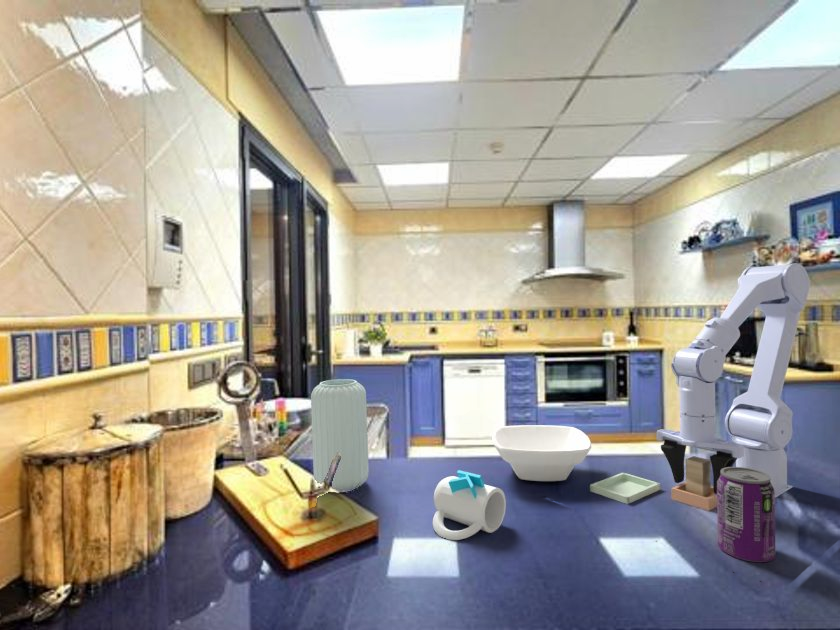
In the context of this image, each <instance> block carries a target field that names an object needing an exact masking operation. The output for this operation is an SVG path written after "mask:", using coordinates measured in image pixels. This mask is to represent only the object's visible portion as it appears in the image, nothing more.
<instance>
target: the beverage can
mask: <svg viewBox="0 0 840 630" xmlns="http://www.w3.org/2000/svg"><path fill="white" fill-rule="evenodd" d="M720 473H721V475H720V477H719V479H718V481H717V507H716V509H717V512H716V513H717V515H716V516H717V518H716V519H717V523H716V524H717V546H718V548H719V549H720V550H722V552H724V553H726V554H728V555H730V556H732V557H734V558H736V559H739V560H742V561H747V562H748V561H749V562H753V563H754V562H755V563H766V562H771V561H773V560H774V559H775V558H776V506H775V505H776V498H775V490H774V488H773V486H772V484H771V482H770V480H771V477H770V476H769V475H768V474H766V473H764V472H761V471H758V470H755V469H750V468H744V467H736V466H732V467H726V468H722V469H721V470H720Z"/></svg>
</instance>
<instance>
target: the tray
mask: <svg viewBox="0 0 840 630" xmlns="http://www.w3.org/2000/svg"><path fill="white" fill-rule="evenodd" d="M660 490H661V483H660V482H656V481H653V480H650V479H646V478H643V477H639V476H636V475H633V474H629V473H625V472H620V473H618V474H615V475H612V476H610V477H607V478H605V479H603V480H600V481H596V482H593V483H590V485H589V492H591V493H595V494H597V495H601V496H603V497H605V498H609V499H612V500H615V501H617V502H620V503H623V504H624V505H630V504H631V503H634V502H636V501H638V500H640V499H642V498H644V497H647V496H649V495H651V494H653V493H656V492H658V491H660Z"/></svg>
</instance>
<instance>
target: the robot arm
mask: <svg viewBox="0 0 840 630" xmlns="http://www.w3.org/2000/svg"><path fill="white" fill-rule="evenodd" d="M811 283H812V282H811V279H810V277H809V275H808V272H807V270H806V268H805V267H804V266H803V265H802V264H801V263H799V262H797V263H790V264H779V265H766V266H748V267H746V268H745V269H744V270H743V272H742V273H741V275H740V276H739V277H738V278H737V287H738V289H737V291H736V292H735V294H734V295H733V296H732V298H731V300H730V301H729V303H728V305H727V306H726V308H725V309H724V311H723V313H722V314H721V315H720V317H713V318H710V319H709V320H707V321H706V322H705V323H704V327H703V328H702V329H701V330H700V332H699V333H698V334H697V336H695V338H694V339H693V341H692V342H691V343H690V344H689V345H688V347H684V348H681V349H679V350H678V351H677V352H676V353H675V354H674V356H673V359H672V362H671V363H670V368H671V371H672V373H673V374H674V376H675V381H676V382H675V383H676V385H677V387H678V388H679V430H678V431H677V430H671V429H663V428H662V429H661V428H660V429H657V430H656V441H658V442H663V444H661V445H660V449H661V451H662V453H663V455H664V456H665V458H666V460H667V462H668V465H669V467H670V469H671V473H672V476H673V481H674V483H676V484H681V483H682V482H684V480H685V479H684V478H685V457H686V456H685V455H686V450H687V447H691V448H694V449H699V450H704V451H708V452H714V453H713V454H711V455H710V456H709V460H711V469H712V475H713V480H712V481H713V482H712V483H713V485H712V487H713V489H714V494H717V481H718V479H719V477H720V475H721V473H720V470H721V469H722V468H726V467H734V465H735V467H744V468H750V469H755V470H758V471H761V472H764V473H766V474H768V475H769V476H770V477H771V480H770V482H771V484H772V486H773V488H774V490H775V499H776V498H777V497H779V496H780V495H782V494H784V493H785V492H787V491H788V490H791V489H792V488H794V486H793V485H790V484H788V471H787V470H788V468H787V467H788V465H787V464H788V457H787V453H786V452H785V448H786V447H787V445H788V444H789V443H790V441H791V439H792V438H793V431H794V430H793V415H794V412H793V411H792V410H791V408H790V407H789V406H787V404H786V403H785V402H784V401H783V400H782V399H781V397H782V392H783V389H784V388H783V387H784V384H785V380H786V375H787V371H788V368H789V363H790V358H791V354H792V351H793V347H794V341H795V337H796V334H797V331H798V325H799V321H800V316H801V312H802V311H804V310H805V309H806V308H805V307H806V303H807V300H808V294H809V291H810V287H811ZM755 310H758V311H760V312H762V313H763V314H764V316H765V320H764V323H763V328H762V332H761V335H760V336H761V337H760V340H759V344H758V348H757V352H756V356H755V360H754V364H753V368H752V373H751V376H750V380H749V385H748V389H747V391H745V392H744V393H742V394H739V395H738V396H736V397H734V398H733V401H732V405H731V406H730V408H729V410H728V411H727V413H726V415H725V418H724V426H725V430H726V432H727V434H728V435H729V436H731V441H728V440H726V439H723V438H719V437H717V435H716V434H717V433H716V431H717V430H716V429H717V428H716V426H717V424H716V381H717V380H718V379H719V378H720V377H721V376H722V374H723V371H724V365H725V364H724V363H726V359H727V358H726V355H727V354H728V353H729V352H730V350H731V349H733V348H732V347H733V346H734V345H735V344H736V343H737V342H738V340H739V338H740V337H741V332H740V329H739V328H740V326H741V325H742V324H743V323H744V322H745V321H746V320H747V318H749V316H750V315H751V314H752V313H753V312H754V311H755Z"/></svg>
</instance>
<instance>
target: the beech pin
mask: <svg viewBox="0 0 840 630" xmlns="http://www.w3.org/2000/svg"><path fill="white" fill-rule="evenodd" d="M711 469H712V464H711V460H710V459H709V458H705V457H704V458H703V457H699V456H695V455H693V456H691V457H688V458H686V459H685V482H686V492H690V493H693V494H696V495H700V496H703V497H709V496H711V486H712V481H711V480H712V479H711V478H712V477H711V476H712V473H711V471H712V470H711Z"/></svg>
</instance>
